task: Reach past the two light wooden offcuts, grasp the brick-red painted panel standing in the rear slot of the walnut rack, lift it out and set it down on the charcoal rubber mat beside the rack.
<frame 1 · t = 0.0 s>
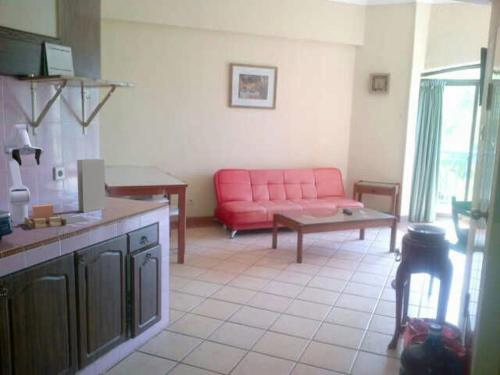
hand: (29, 163, 211), 32 cm above the counter, tool tilted 50°, fingers open, 7 cm apart
offcut a: (40, 227, 222), resting on rack
offcut b: (55, 225, 227), resting on rack
brochure: (92, 210, 267), on the counter
mat: (73, 220, 240), on the counter
panel: (43, 223, 231), resting on rack
rack: (45, 225, 228), on the counter
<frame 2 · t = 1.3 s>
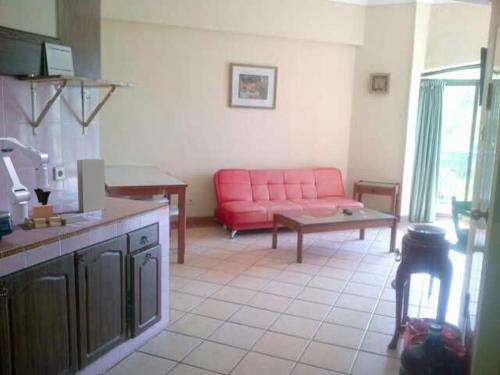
hand: (42, 203, 229), 10 cm above the counter, tool pointing down, fingers open, 7 cm apart
nothing on the counter moved.
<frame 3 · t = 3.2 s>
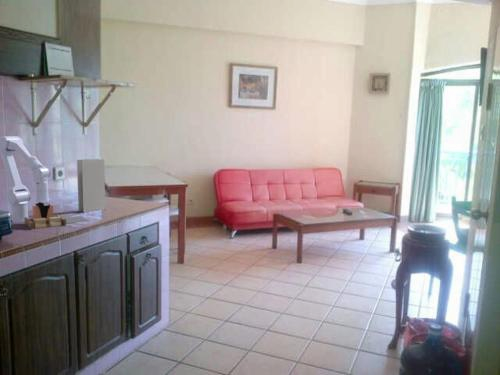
hand: (43, 217, 230), 3 cm above the counter, tool pointing down, fingers closed on panel, 3 cm apart
panel: (43, 223, 231), resting on rack, touching gripper
everything else where it was.
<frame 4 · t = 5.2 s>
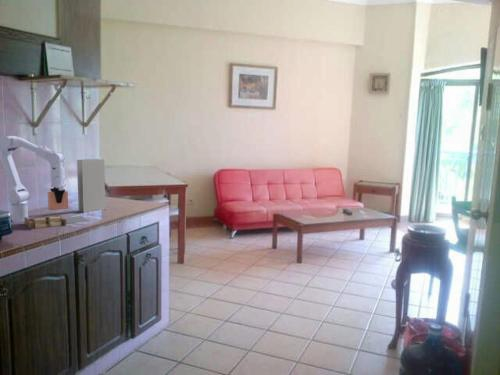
hand: (58, 202, 234), 10 cm above the counter, tool pointing down, fingers closed on panel, 3 cm apart
panel: (58, 209, 234), point 7 cm above the counter, touching gripper
everything else where it was.
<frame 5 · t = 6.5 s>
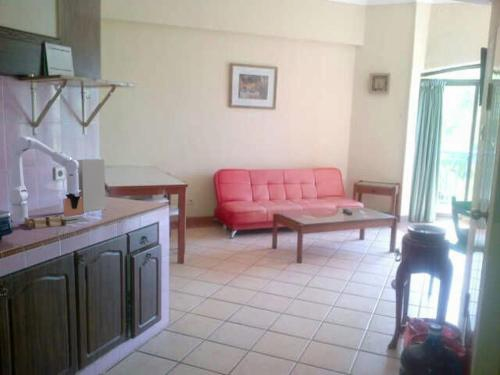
hand: (73, 208, 239), 7 cm above the counter, tool pointing down, fingers closed on panel, 3 cm apart
panel: (73, 215, 239), point 3 cm above the counter, touching gripper
everything else where it was.
when the fingers open (5 cm above the counter, at t = 7.5 s): panel stays where it is, resting on mat.
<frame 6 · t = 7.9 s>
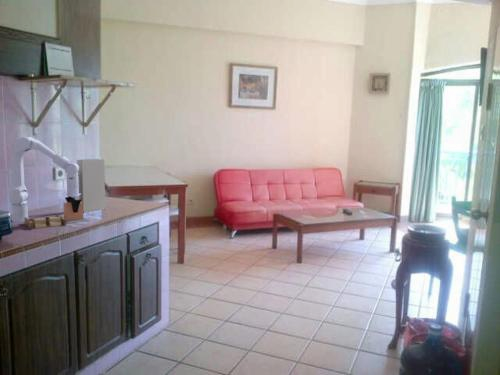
hand: (73, 211, 239), 5 cm above the counter, tool pointing down, fingers open, 6 cm apart
panel: (73, 219, 240), point 1 cm above the counter, touching mat
everything else where it was.
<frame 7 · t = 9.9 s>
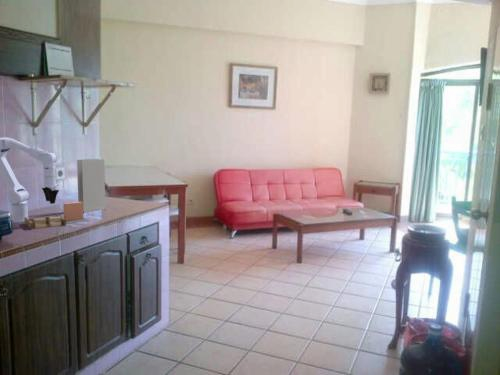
hand: (50, 202, 235), 10 cm above the counter, tool pointing down, fingers open, 7 cm apart
nothing on the counter moved.
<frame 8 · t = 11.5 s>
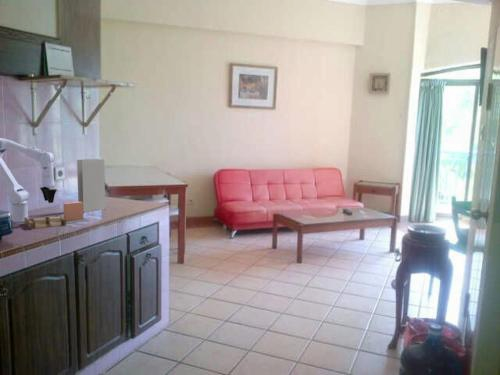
hand: (48, 201, 236), 10 cm above the counter, tool pointing down, fingers open, 7 cm apart
nothing on the counter moved.
at the end: panel inside the target area (0.1 cm from its centre), point 0.6 cm above the counter; the gripper is holding nothing; offcut b moved 0.0 cm from its start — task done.
